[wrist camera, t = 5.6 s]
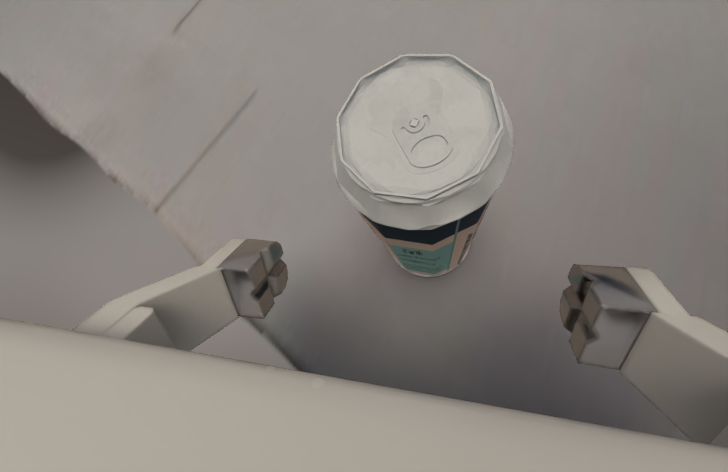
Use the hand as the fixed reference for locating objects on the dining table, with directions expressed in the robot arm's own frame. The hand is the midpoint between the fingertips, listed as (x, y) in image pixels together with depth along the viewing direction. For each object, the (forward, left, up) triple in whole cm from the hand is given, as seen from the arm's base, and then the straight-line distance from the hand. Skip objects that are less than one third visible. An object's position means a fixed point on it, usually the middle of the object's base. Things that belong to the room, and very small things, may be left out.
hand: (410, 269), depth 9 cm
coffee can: (+3, -1, -10) cm, 10 cm away
